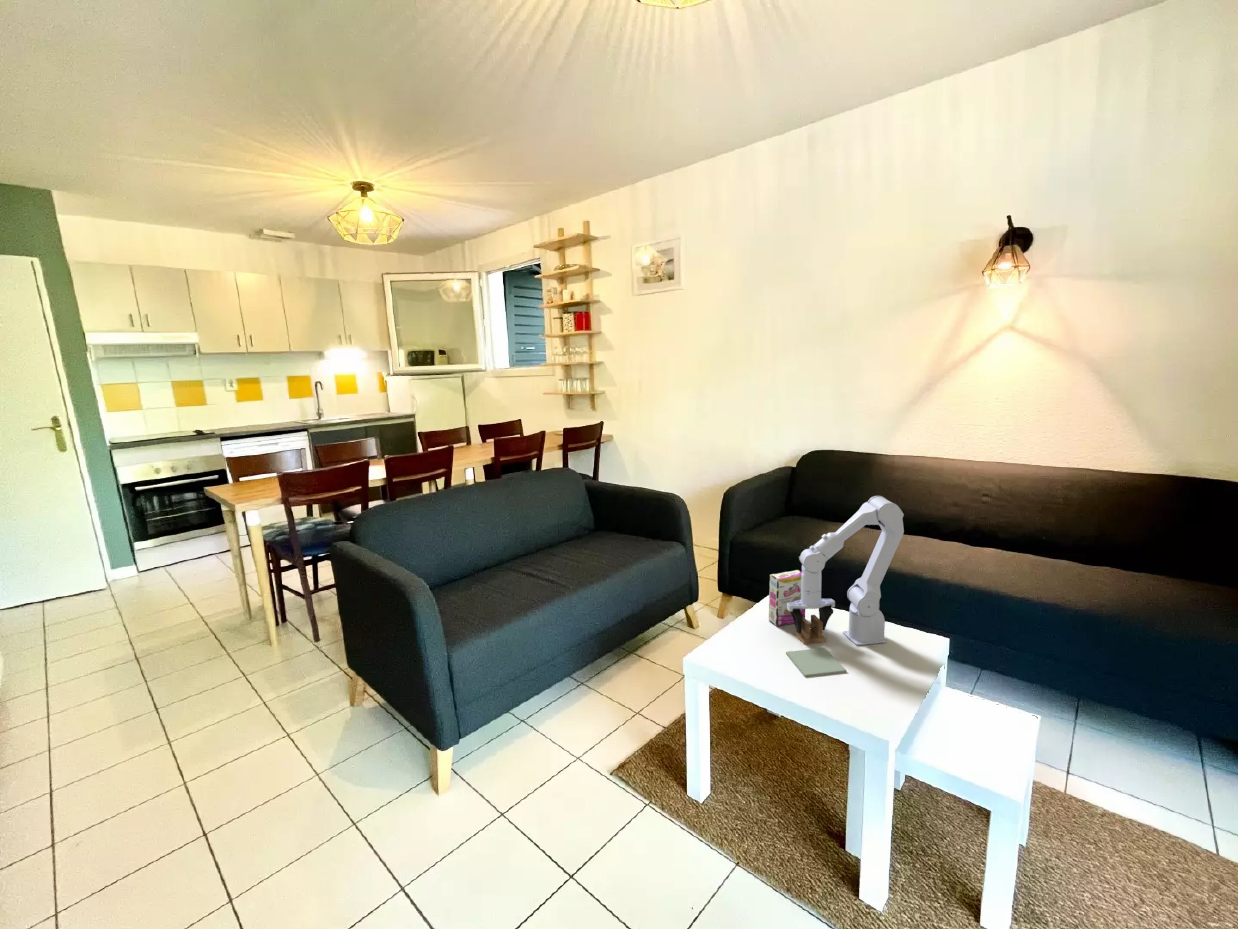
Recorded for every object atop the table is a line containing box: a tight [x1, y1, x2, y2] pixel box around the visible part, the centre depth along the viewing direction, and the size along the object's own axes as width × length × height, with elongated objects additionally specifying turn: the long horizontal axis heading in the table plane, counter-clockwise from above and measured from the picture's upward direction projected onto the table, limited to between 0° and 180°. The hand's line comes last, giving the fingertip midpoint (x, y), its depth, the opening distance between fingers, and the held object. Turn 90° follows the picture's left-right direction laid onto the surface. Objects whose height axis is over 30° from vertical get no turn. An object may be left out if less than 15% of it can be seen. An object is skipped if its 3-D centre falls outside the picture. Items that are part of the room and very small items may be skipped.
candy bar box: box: [768, 569, 806, 627], centre depth 172 cm, size 11×5×16 cm, turn 108°
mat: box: [785, 647, 848, 678], centre depth 149 cm, size 12×12×1 cm
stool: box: [794, 614, 827, 645], centre depth 161 cm, size 7×6×6 cm
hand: (810, 630), depth 161 cm, fingers open, 7 cm apart
